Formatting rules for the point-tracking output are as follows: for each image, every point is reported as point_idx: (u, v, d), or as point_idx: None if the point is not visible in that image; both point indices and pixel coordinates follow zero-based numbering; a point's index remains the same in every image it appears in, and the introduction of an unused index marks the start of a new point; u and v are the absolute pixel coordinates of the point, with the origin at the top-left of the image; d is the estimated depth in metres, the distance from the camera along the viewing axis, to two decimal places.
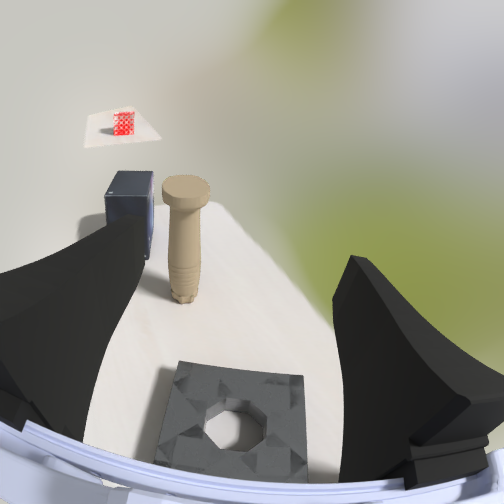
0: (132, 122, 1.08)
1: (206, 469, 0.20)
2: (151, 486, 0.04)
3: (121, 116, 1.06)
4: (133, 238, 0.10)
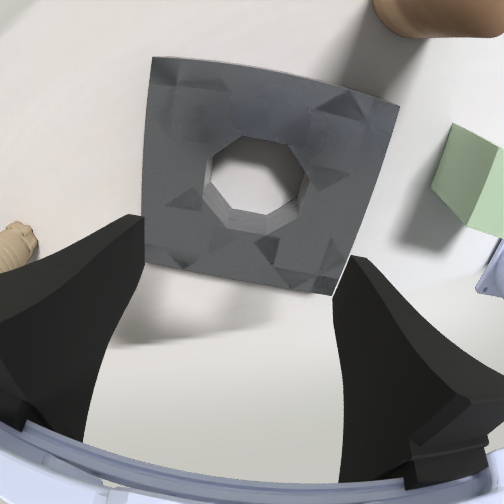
0: None
1: (331, 237, 0.18)
2: (151, 486, 0.04)
3: None
4: (133, 238, 0.10)
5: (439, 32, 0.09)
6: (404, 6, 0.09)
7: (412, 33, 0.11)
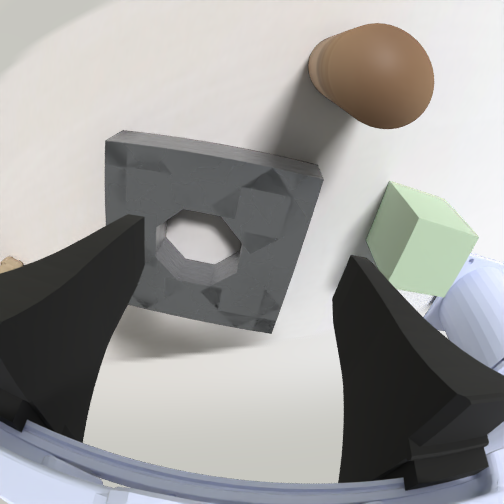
0: None
1: (265, 288, 0.21)
2: (151, 486, 0.04)
3: None
4: (133, 238, 0.10)
5: None
6: (323, 88, 0.12)
7: None
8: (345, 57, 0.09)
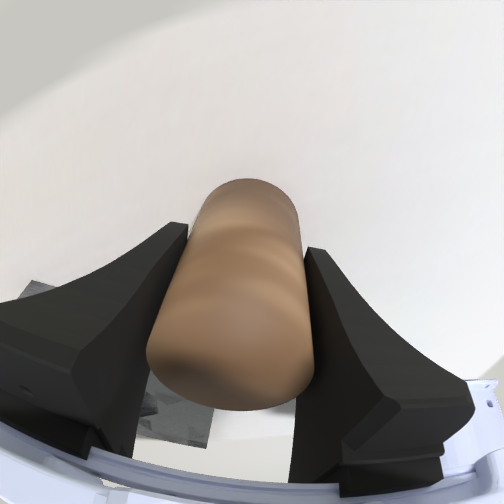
0: None
1: (189, 425, 0.19)
2: (151, 486, 0.04)
3: None
4: (180, 247, 0.10)
5: None
6: None
7: None
8: (164, 355, 0.07)
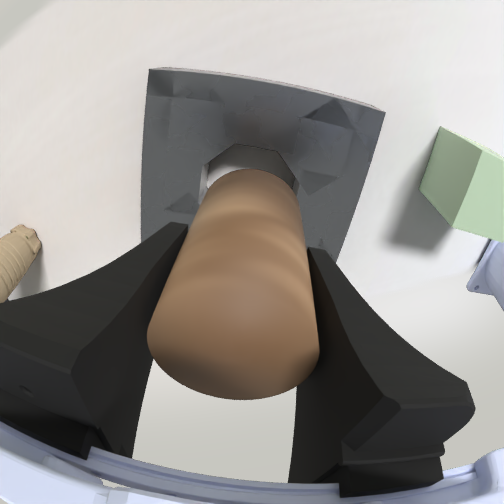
0: None
1: (321, 238, 0.18)
2: (151, 486, 0.04)
3: None
4: (180, 247, 0.10)
5: None
6: None
7: None
8: (166, 334, 0.07)
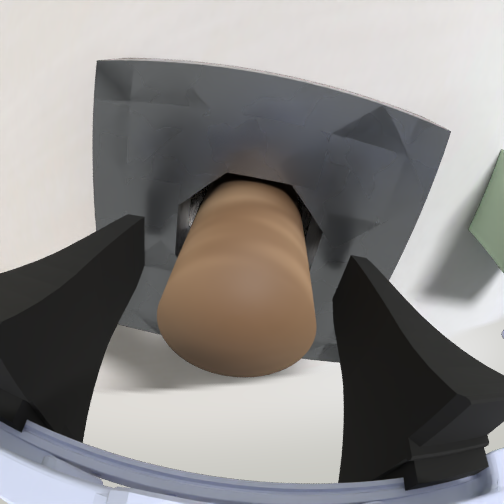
0: None
1: None
2: (151, 486, 0.04)
3: None
4: (133, 238, 0.10)
5: None
6: None
7: None
8: (175, 311, 0.08)
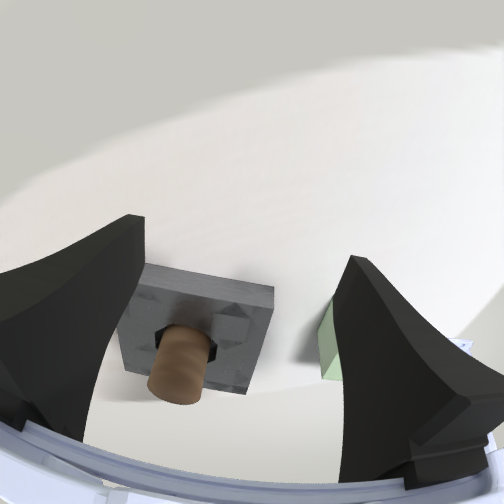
0: None
1: (237, 369, 0.27)
2: (151, 486, 0.04)
3: None
4: (133, 238, 0.10)
5: None
6: None
7: None
8: (153, 384, 0.21)
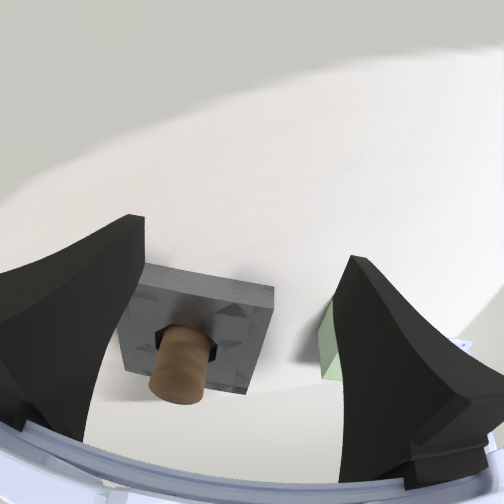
0: None
1: (237, 369, 0.27)
2: (151, 486, 0.04)
3: None
4: (133, 238, 0.10)
5: None
6: None
7: None
8: (155, 384, 0.21)
